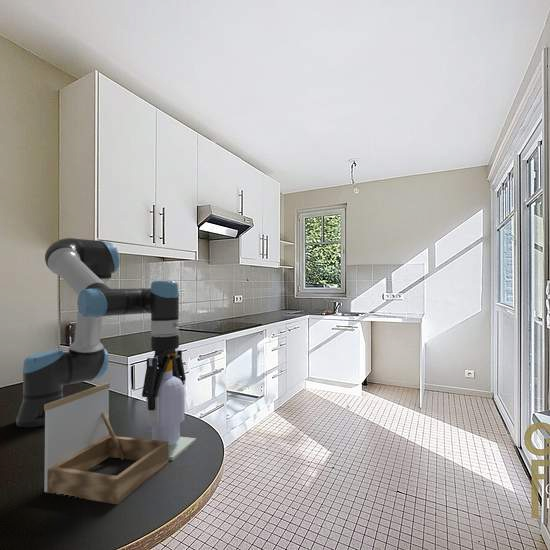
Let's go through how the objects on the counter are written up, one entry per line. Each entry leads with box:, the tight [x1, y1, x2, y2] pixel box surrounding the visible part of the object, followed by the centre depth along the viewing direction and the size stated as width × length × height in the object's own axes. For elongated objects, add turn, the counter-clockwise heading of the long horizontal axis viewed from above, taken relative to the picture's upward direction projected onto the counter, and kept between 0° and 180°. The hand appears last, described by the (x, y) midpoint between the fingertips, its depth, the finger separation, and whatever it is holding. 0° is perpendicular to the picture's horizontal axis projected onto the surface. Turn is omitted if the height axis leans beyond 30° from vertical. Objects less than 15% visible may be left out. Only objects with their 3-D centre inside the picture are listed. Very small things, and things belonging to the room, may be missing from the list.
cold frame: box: [47, 412, 170, 505], centre depth 83 cm, size 19×18×12 cm
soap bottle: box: [146, 353, 186, 445], centre depth 97 cm, size 10×10×24 cm
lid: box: [43, 382, 111, 493], centre depth 86 cm, size 1×19×19 cm, turn 164°
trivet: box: [168, 436, 197, 461], centre depth 97 cm, size 12×12×1 cm
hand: (165, 414), depth 97 cm, fingers closed on soap bottle, 10 cm apart
